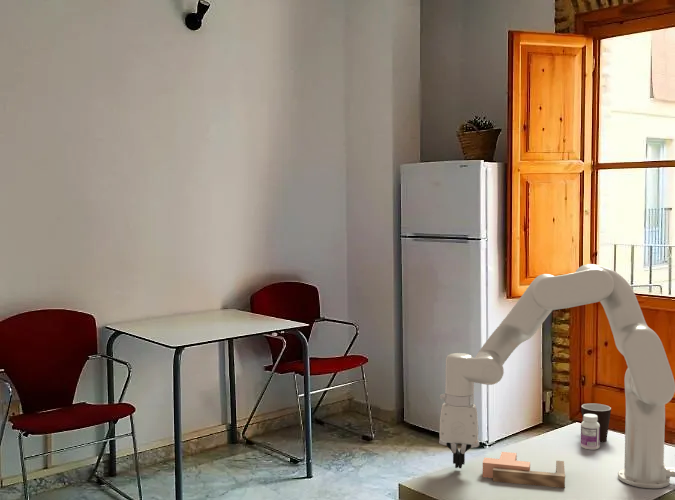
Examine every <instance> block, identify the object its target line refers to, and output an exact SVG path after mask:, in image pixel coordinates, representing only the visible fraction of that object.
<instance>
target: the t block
mask: <svg viewBox="0 0 675 500" xmlns="http://www.w3.org/2000/svg"><path fill="white" fill-rule="evenodd" d="M517 457H518V455H517V452H509V451H501V453H500V456H499V458H493V457H484V458H483V460H482V478H487V477H488V478H489V479H493V468H504V469H516V470H527V471H531V461H522V460H517V459H518V458H517Z"/></svg>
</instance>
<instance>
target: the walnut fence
mask: <svg viewBox="0 0 675 500" xmlns="http://www.w3.org/2000/svg"><path fill="white" fill-rule="evenodd" d="M555 461H556V462H555V472H546V471H536V470H530V471H527V470H516V469H504V468H493V478H492V482H497V483H507V484H517V485H528V486H537V487H549V488H561V489H565V488H566V470H565V461H564V460H555Z"/></svg>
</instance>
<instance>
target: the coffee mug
mask: <svg viewBox="0 0 675 500" xmlns="http://www.w3.org/2000/svg"><path fill="white" fill-rule="evenodd" d="M580 412H581V416H582V417H583V416H584V414H595V415H597V416H598V420H597V422H598V423H599V424H600V443H605V442H607V439H608V435H609V434H608V432H609V426H610V419H611V412H612V407H610V406H609V405H606V404H601V403H583V404H582V405H581V408H580ZM583 421H584V419H583V418H582V422H583Z"/></svg>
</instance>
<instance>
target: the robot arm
mask: <svg viewBox="0 0 675 500" xmlns="http://www.w3.org/2000/svg"><path fill="white" fill-rule="evenodd" d="M637 298H638V297H637V296H636V294H635V292H634V290H633V288H632V286H631V285H630V283H629V282H628V281H627V280H626V279H625V278H624V277H623V276H622V275H621V274H619V273H618V272H617V271H615V270H613V268H610V267H606V266H604V265H600V264H595V263H587V264H583V265H581V266H579V267H578V268H577V269H576V271H575V272H572V273H571V272H570V273H567V274H566V273H565V274H561V275H553V274H550V273H543V274H539V275H537V276H536V277H535V278H534V279H533V280H532V281H531V283H530V284H529V285H528V287H527V288H526V290H525V291H524V292H523V294H522V295H521V296H520V297H519V299H518V300H517V302H516V303H515V305H513V307H512V308H511V310H509V313H508V314H507V315H506V317H504V319H502V321H501V322H500V323H499V325H498V326H497V327H496V329H494V331H493V332H492V333H491V335H490V336H489V337H488V339H487V340H486V341H485V343H484V344H483V345H482V347H481V348H480V349H479V351H478V352H477V353H476V355H475V357H473V356H472V355H471V354H469V353H464V352H462V353H461V352H456V353H455V352H454V353H450V354H448V355H447V356H446V358H445V392H444V393H442V394H441V393H440V395H439V399H440V400H443V403H442V405H441V411H440V417H439V439H438V440H439V441H438V443H439V445H442V446H446V447H447V448H448V449H449V450H450V451H451V454H452V464H453V465H454V468H455V469H458V468H459V469H462V467H463V465H465V462H466V458H465V457H466V454H465V453H466V452H468V451H469V450H470V449H472V448H478V447H479V446H480V442H479V416H478V410H477V405H476V404H475V403H474V397H475V393H474V392H475V391H474V387H475V385H474V384H481V385H488V386H491V385H495V384H498V383H499V382H501V380H502V379H503V377H504V373H505V372H504V364H505V363H506V361H507V360H508V359H509V358H510V357H511V355H512V353H514V351H515V350H516V349H517V348H518V347H519V345H521V344H522V343H524V342H526V341H528V340H530V339H531V338H532V337H533V336H534V335H535V334H536V333H537V331H538V330H539V328H541V326H542V325H543V323H544V322H545V320H546V319H547V318H548V316H549V315H550V314H551V313H552V312H553V311H554V310H556V311H557V310H562V309H569V308H574V307H579V306H584V305H589V304H594V303H598V302H600V304H601V306H602V307H603V310H604V313H605V316H606V318H607V320H608V324H609V326H610V330H611V333H612V335H613V339H614V344H615V347H616V349H617V350H618V352H619V353H620V354H621V355H622V356H623V357H624V360H625V362H626V363H625V364H626V366H627V368H626V371H625V374H624V394H625V396H624V397H625V429H624V430H625V431H624V433H625V434H624V441H625V442H624V468H622V469H620V470H619V471H618V472H617V478H618V480H619V481H621V482H622V483H625V484H627V485H630V486H633V487H636V488H642V489H643V488H644V489H663V488H666V487H668V486H669V485H670V483H671V482H670V481H671V480H670V479H671V477H672V478H675V467H667V466H666V464H665V462H664V461H665V431H666V429H665V428H666V427H665V425H666V405H667V404H668V403H670V402H671V400H672V399H673V397H674V395H675V379H674V374H673V371H672V369H671V365H670V362H669V359H668V357H667V354H666V351H665V348H664V345H663V342H662V340H661V339H660V337H659V335H658V334H657V332H656V331H654V330H653V329H652V328H650V327H649V326H648V324H647V322H646V320H645V317H644V314H643V311H642V309H641V306H640V304H639V301H638V299H637ZM459 444H460V445H461V448H460V449H458V445H459Z"/></svg>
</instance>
